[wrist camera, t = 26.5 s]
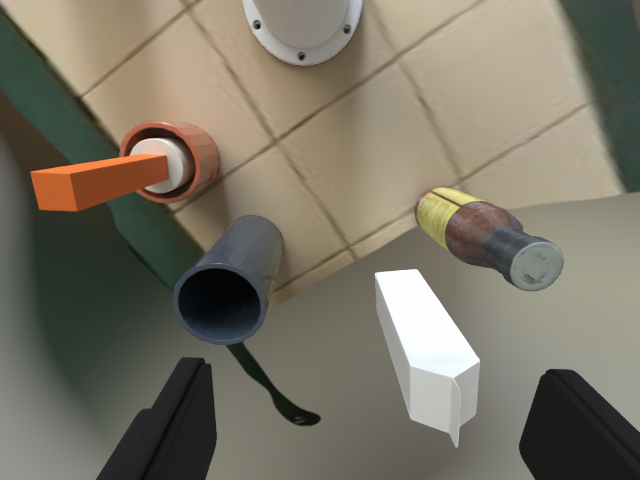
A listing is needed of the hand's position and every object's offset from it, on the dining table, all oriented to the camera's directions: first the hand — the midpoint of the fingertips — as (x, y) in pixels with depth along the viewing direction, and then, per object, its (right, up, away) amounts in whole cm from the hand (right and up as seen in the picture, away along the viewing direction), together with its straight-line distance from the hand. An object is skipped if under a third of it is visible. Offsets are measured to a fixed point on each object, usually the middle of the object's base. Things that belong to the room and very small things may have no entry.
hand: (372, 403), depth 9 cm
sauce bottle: (+14, +9, +33) cm, 37 cm away
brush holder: (-18, +15, +31) cm, 39 cm away
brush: (-18, +14, +30) cm, 38 cm away
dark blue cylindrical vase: (-10, +4, +35) cm, 37 cm away
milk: (+9, -2, +37) cm, 39 cm away
